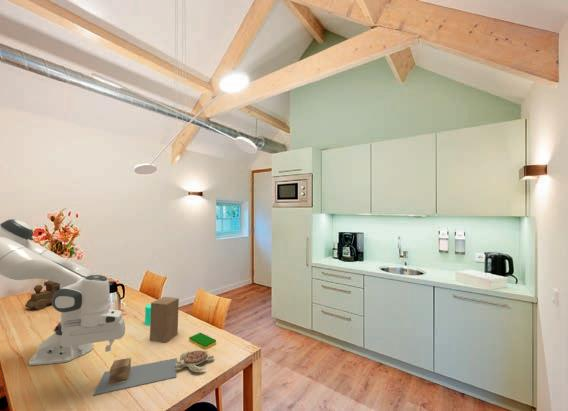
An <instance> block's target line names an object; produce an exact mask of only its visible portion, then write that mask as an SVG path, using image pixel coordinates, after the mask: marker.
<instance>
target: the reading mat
mask: <svg viewBox="0 0 568 411" xmlns="http://www.w3.org/2000/svg"><path fill="white" fill-rule="evenodd" d="M177 362H178V357H176V358H169V359H164V360H160V361H155V362H149V363H144V364H139V365H134V366H131V368H130V375H129V378H128V381H126V382H121V383H116V384H112V385H109V381H110V370H109V371H108V370H107V371H104V372H103V374H102V376H101V378H100V380H99V382H98V383H97V384H98V385H97V387H96V388H95V390H94V392H93V397H95V396H99V395H103V394H108V393H112V392H118V391H120V390H125V389H126V390H127V389H130V388H134V387H139V386H144V385H148V384H154V383H159V382H163V381H167V380H171V379H176V378H177V372H178V371H177V368H175V365H176V363H177Z"/></svg>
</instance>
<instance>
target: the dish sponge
mask: <svg viewBox="0 0 568 411" xmlns="http://www.w3.org/2000/svg"><path fill="white" fill-rule="evenodd" d="M188 342H190V343H192V344H193V345H194V346H196V347H199V348H200V349H202V350H203V351H207V349H209V348H211V347H214V346H215V345H216V344H217V340H216V339H215V338H214V337H211V336H209V335H206V334H205V333H202V332H199V333H196V334H193V335H192V336H189V337H188Z"/></svg>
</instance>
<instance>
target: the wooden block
mask: <svg viewBox="0 0 568 411" xmlns="http://www.w3.org/2000/svg"><path fill="white" fill-rule="evenodd" d="M179 303H180V298H179V297H178V298H177V297H170V296H169V297H168V296H162V297H161V298H158V299H155V300H154V301H152V302H150V305H151V320H150V325H149V327H150V328H149V341H150V342H151V341H152V342H158V343H165V344H166V343H168V342H169V341H170V340H172V338H174V337H176V336H177V335H178V333H179V331H178V329H179V328H178V327H179V307H180V306H179Z"/></svg>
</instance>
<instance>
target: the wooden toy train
mask: <svg viewBox="0 0 568 411" xmlns="http://www.w3.org/2000/svg"><path fill="white" fill-rule="evenodd" d="M43 286H44V287H45V290H44V291H42V290H43V288H44V287H43ZM43 286H42V284H38V285H37V284H36V285H35V286H34V287H33V291H34V292H35V293H32V294H31V295H30V298H29V299H28V300H27V301H26V304H24V307H25V308H28V309H35V310H38V311H39V310H41V311H42V310H43V309H44V308H45V307H46V306H47V305H49V304H52V297H53V295H54V293H55V292H56V291H57V290H59V289H60V284H59V283H56V282H53V281H50V280H45V281H44V282H43Z"/></svg>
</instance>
